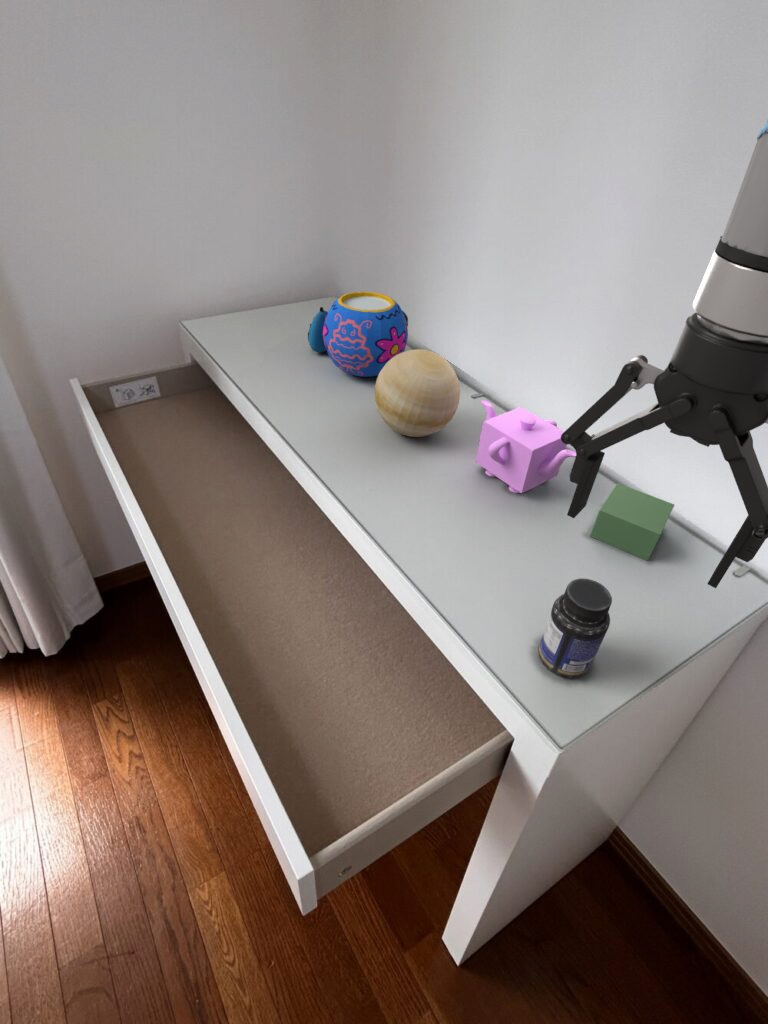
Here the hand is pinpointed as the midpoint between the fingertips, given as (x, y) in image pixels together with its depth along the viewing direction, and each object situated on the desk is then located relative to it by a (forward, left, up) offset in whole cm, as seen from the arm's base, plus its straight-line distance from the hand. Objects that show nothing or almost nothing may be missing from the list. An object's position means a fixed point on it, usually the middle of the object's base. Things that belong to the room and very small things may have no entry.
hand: (641, 542), depth 54 cm
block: (+12, -24, -19) cm, 33 cm away
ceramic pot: (+76, -20, -19) cm, 82 cm away
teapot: (+31, -20, -19) cm, 42 cm away
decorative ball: (+51, -14, -19) cm, 57 cm away
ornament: (+89, -17, -19) cm, 93 cm away
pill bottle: (+2, +2, -19) cm, 20 cm away
